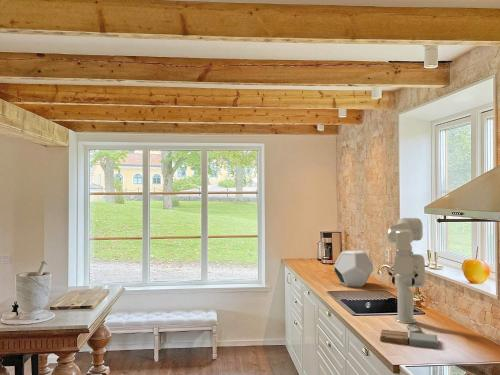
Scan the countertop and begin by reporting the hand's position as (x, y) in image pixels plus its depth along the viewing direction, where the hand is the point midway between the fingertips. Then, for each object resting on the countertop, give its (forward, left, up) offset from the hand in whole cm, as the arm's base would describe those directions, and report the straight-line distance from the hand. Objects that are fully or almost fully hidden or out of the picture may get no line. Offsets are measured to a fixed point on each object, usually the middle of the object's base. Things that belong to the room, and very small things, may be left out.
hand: (403, 285), depth 246 cm
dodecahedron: (-150, -46, -31) cm, 160 cm away
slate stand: (-2, +10, -31) cm, 33 cm away
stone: (-14, +4, -31) cm, 35 cm away
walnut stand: (-2, -5, -31) cm, 31 cm away
